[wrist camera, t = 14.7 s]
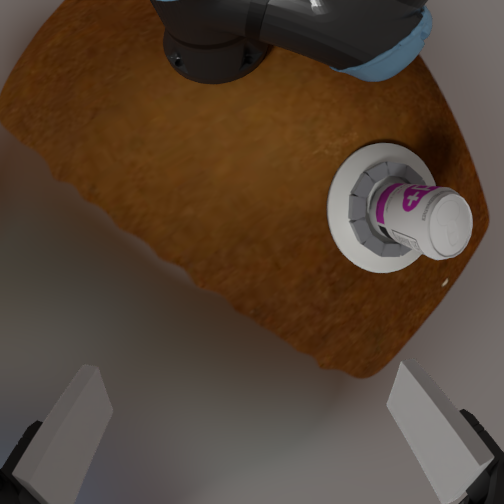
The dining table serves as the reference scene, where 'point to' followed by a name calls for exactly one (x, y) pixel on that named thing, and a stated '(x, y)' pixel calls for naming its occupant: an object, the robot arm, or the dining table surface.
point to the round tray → (357, 204)
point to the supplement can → (422, 218)
